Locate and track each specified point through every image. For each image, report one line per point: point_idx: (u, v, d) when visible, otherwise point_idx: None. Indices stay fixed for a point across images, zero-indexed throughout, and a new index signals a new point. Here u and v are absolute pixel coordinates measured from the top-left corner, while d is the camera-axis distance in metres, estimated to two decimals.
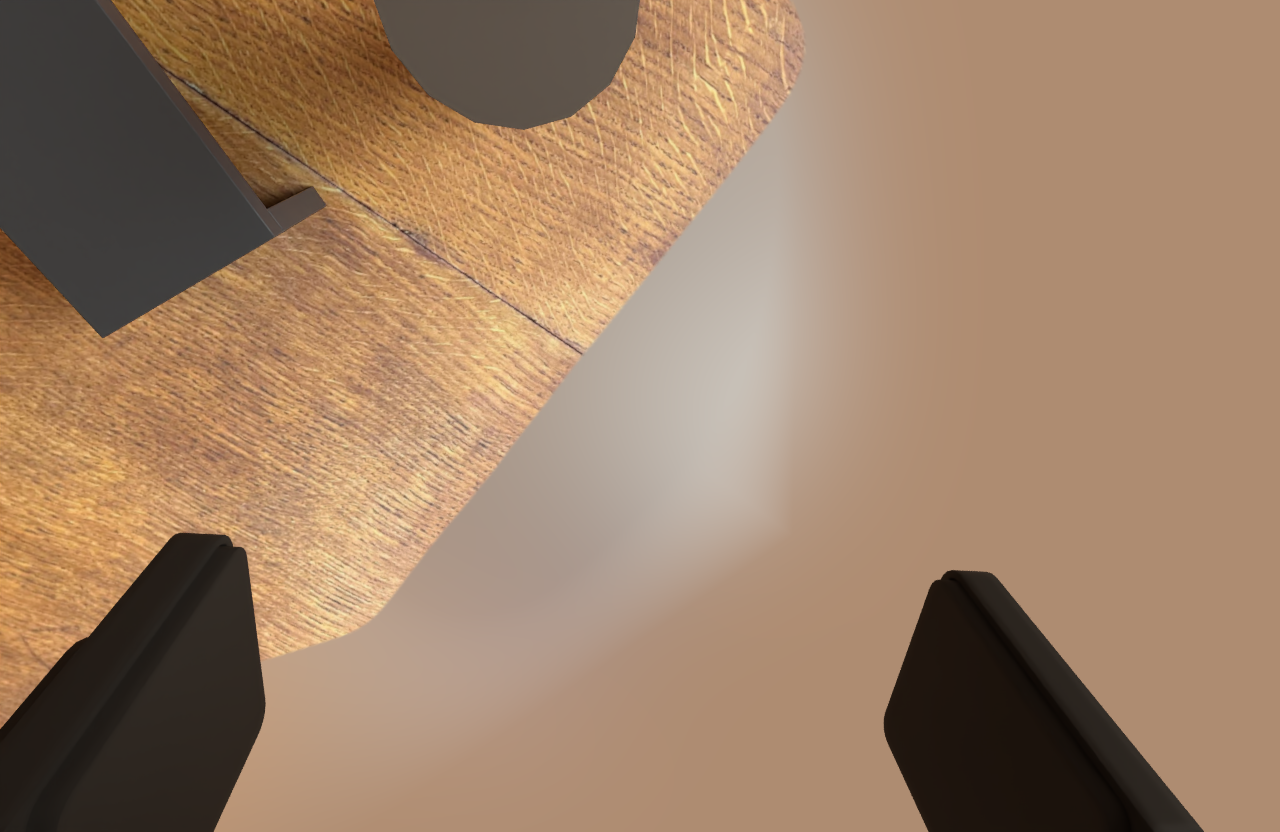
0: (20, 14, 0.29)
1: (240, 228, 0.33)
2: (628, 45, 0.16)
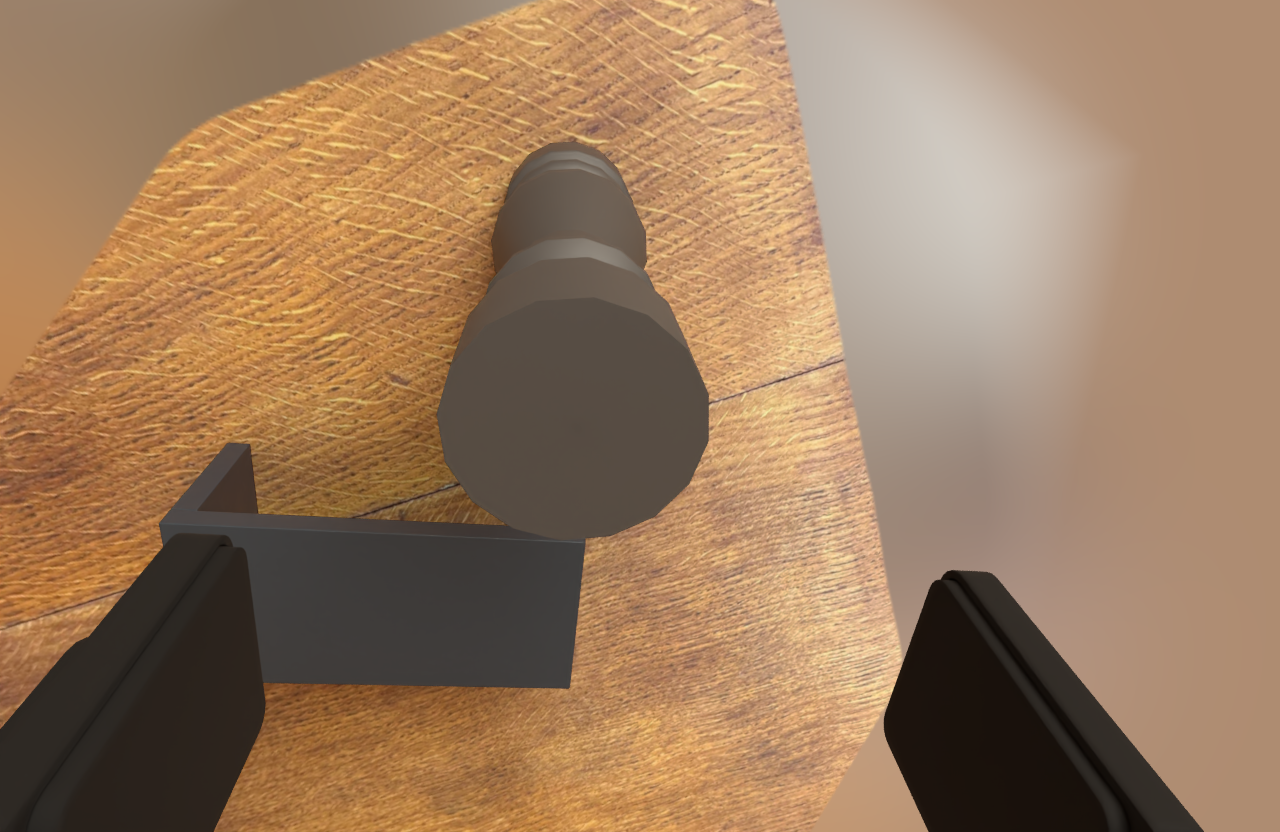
0: (350, 579, 0.37)
1: (563, 559, 0.38)
2: (690, 359, 0.15)
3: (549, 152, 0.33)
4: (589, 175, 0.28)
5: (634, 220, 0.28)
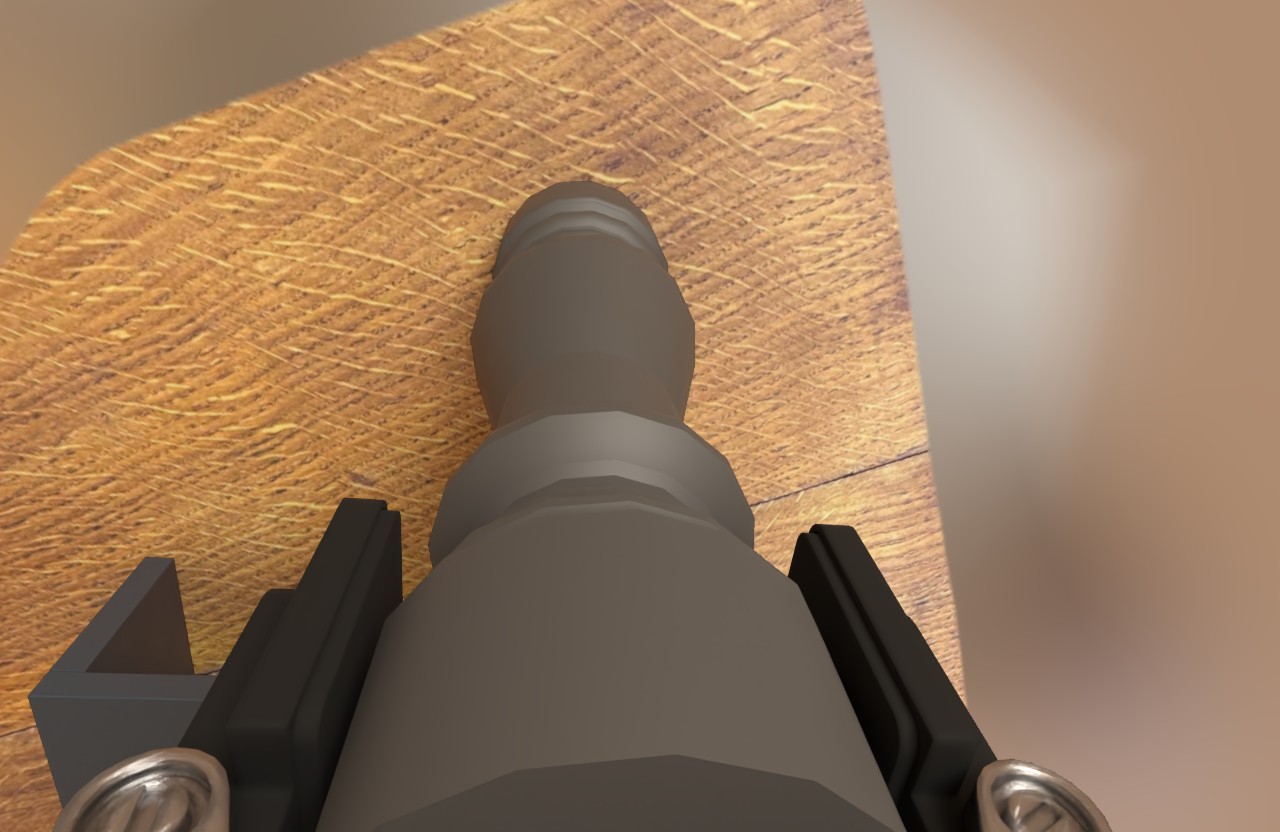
0: None
1: None
2: None
3: (556, 199, 0.24)
4: (614, 246, 0.19)
5: (681, 312, 0.19)
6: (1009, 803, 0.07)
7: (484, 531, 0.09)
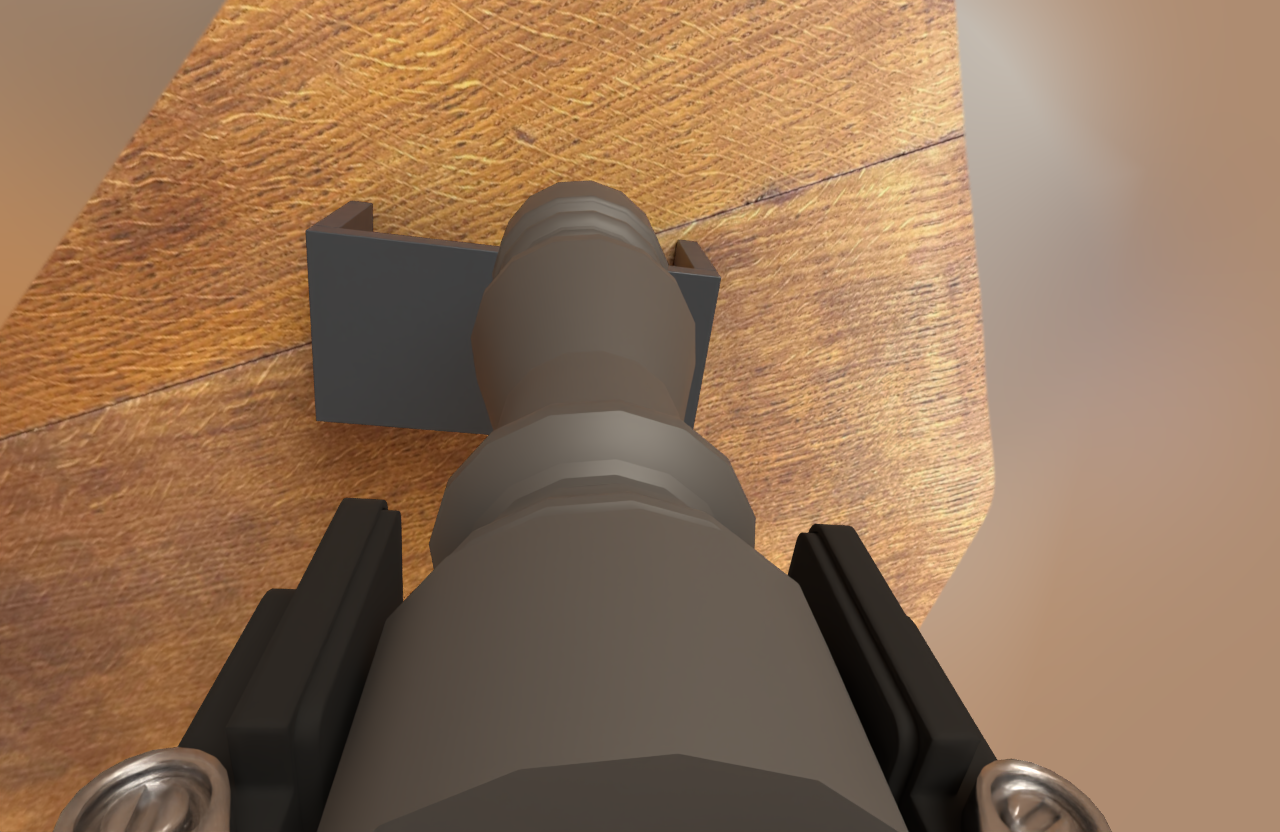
0: None
1: (698, 295, 0.38)
2: None
3: (556, 199, 0.24)
4: (615, 245, 0.19)
5: (681, 312, 0.19)
6: (1008, 803, 0.07)
7: (485, 531, 0.09)
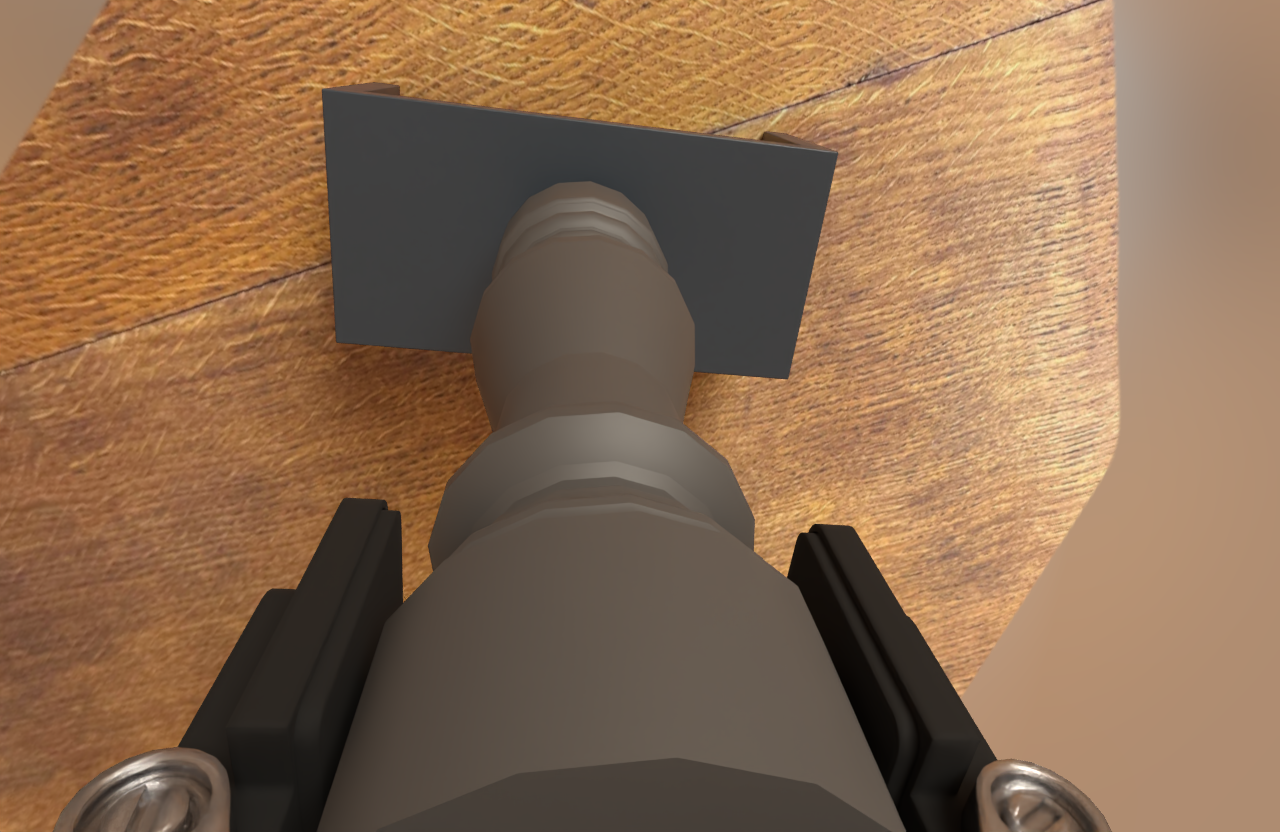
0: None
1: (808, 176, 0.30)
2: None
3: (555, 199, 0.24)
4: (614, 246, 0.19)
5: (680, 313, 0.19)
6: (1008, 803, 0.07)
7: (484, 533, 0.09)
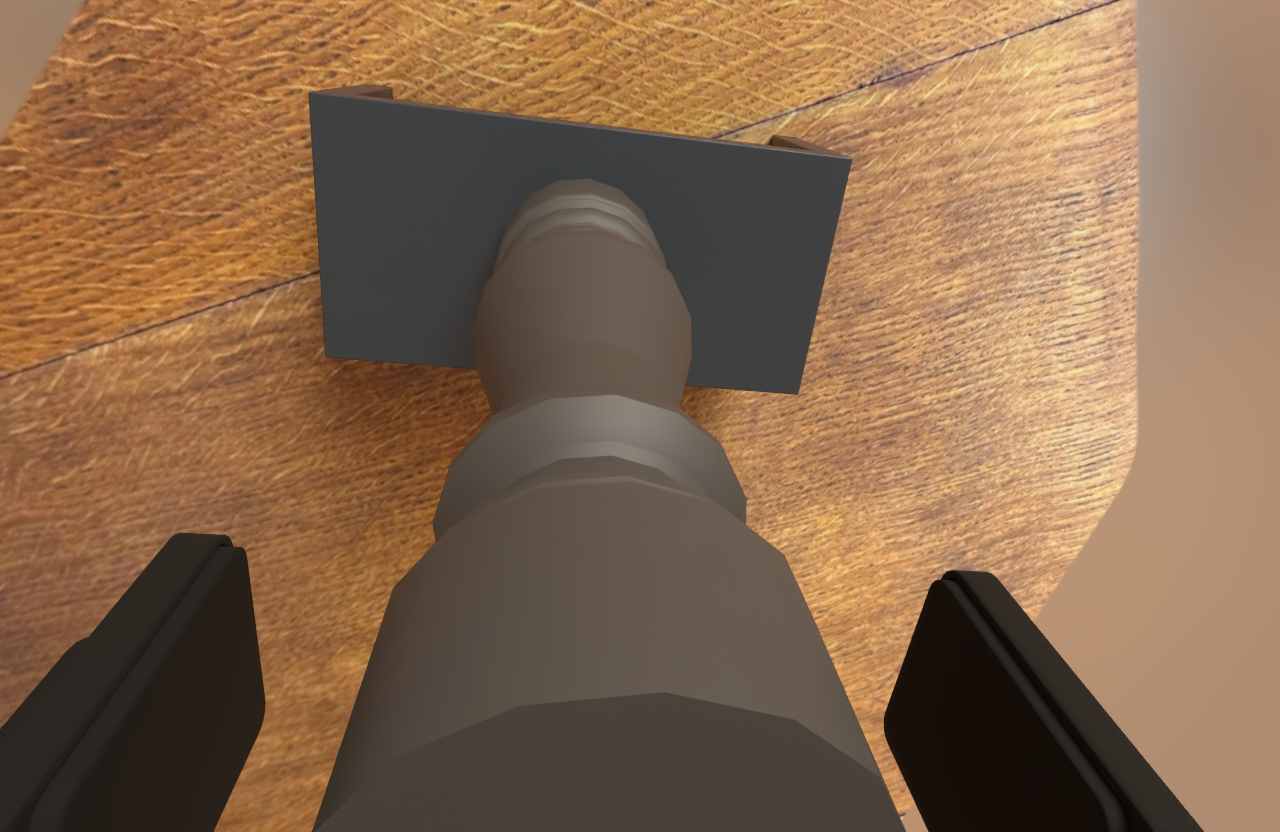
0: None
1: (821, 184, 0.29)
2: (882, 793, 0.06)
3: (555, 196, 0.25)
4: (612, 240, 0.19)
5: (677, 305, 0.19)
6: None
7: (487, 505, 0.09)
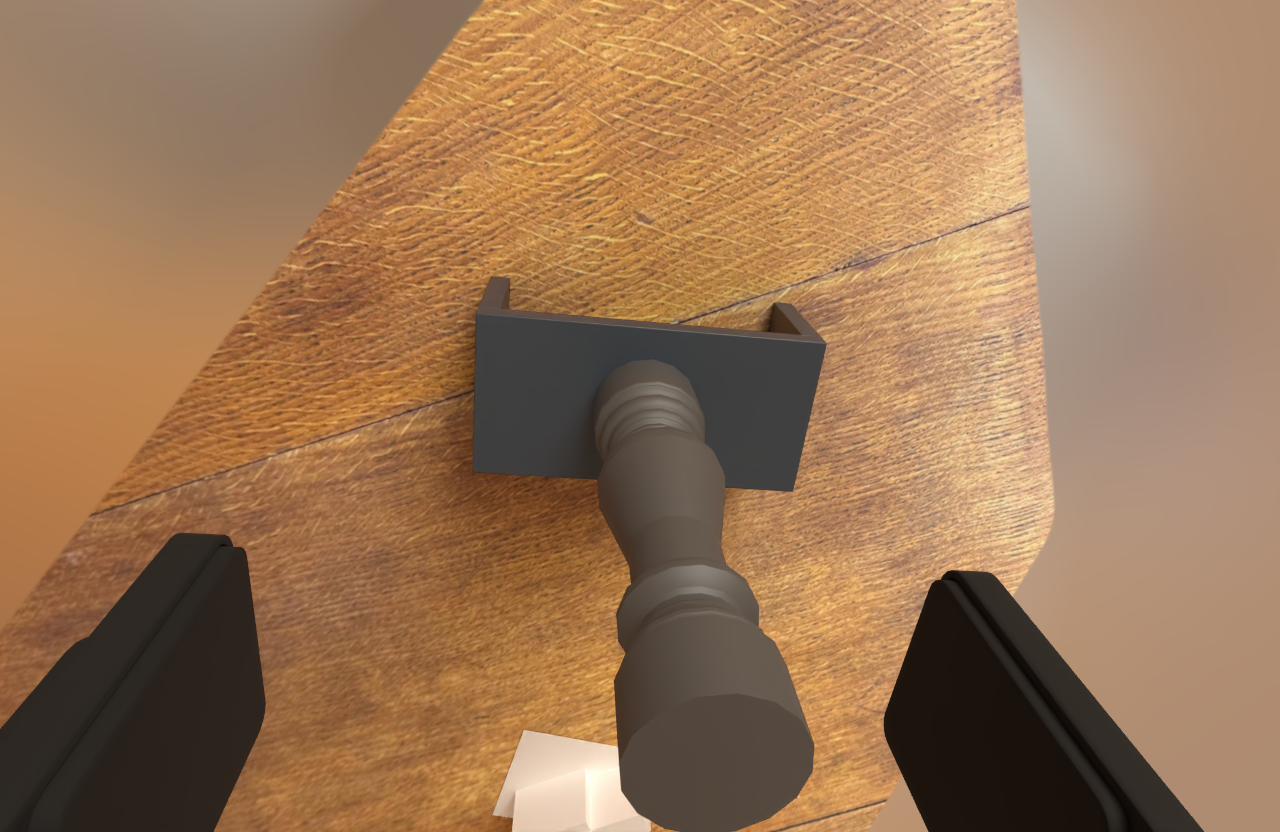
0: None
1: (806, 359, 0.43)
2: (802, 725, 0.21)
3: (636, 383, 0.39)
4: (680, 438, 0.34)
5: (718, 475, 0.34)
6: None
7: (658, 621, 0.24)
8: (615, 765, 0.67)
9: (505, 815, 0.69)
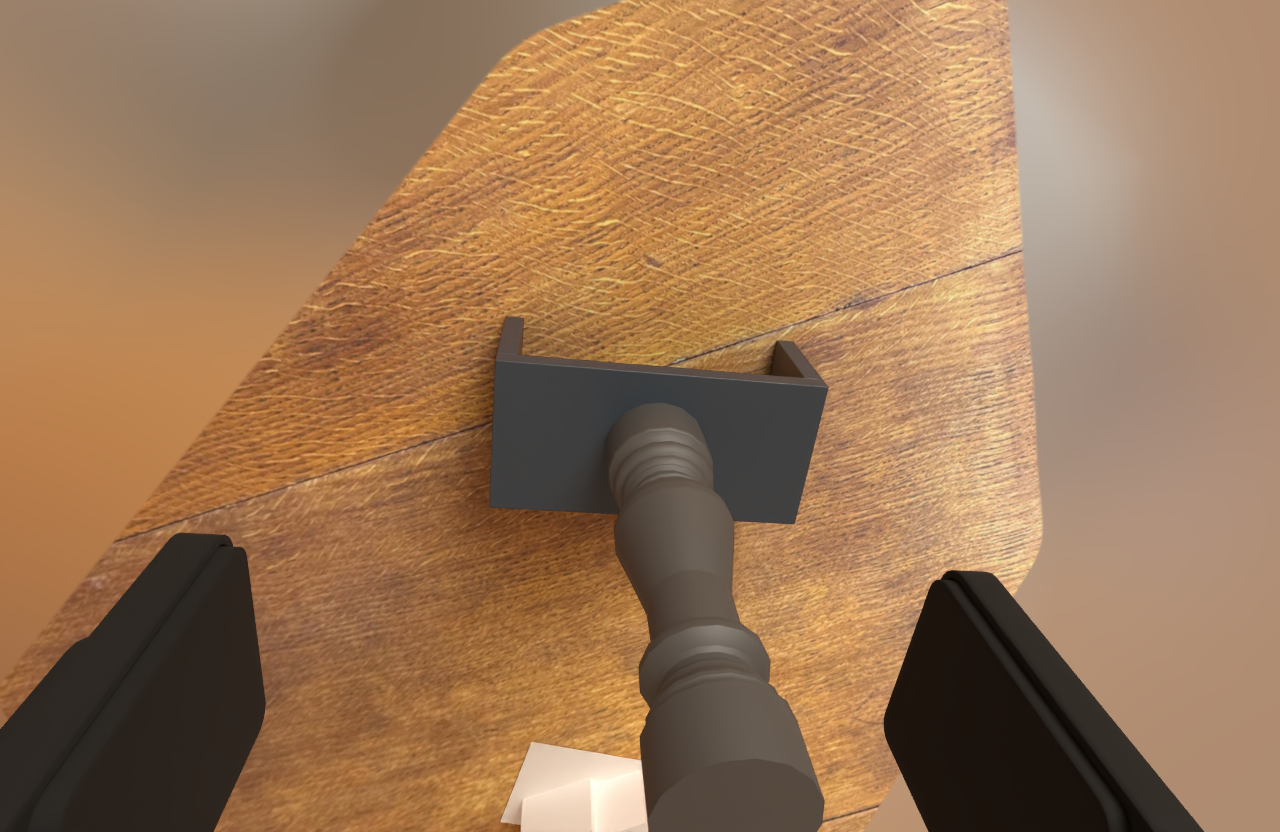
0: None
1: (809, 401, 0.45)
2: (814, 784, 0.23)
3: (648, 429, 0.42)
4: (693, 490, 0.36)
5: (728, 524, 0.36)
6: None
7: (680, 682, 0.26)
8: (618, 774, 0.70)
9: (512, 822, 0.72)
